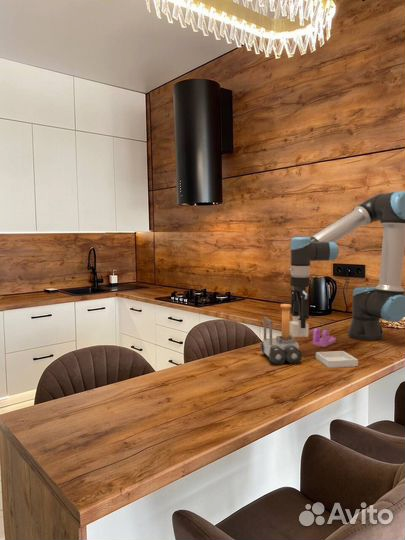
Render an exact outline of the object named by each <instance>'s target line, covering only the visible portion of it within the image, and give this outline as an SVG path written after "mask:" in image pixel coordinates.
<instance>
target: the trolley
mask: <svg viewBox="0 0 405 540" xmlns="http://www.w3.org/2000/svg"><path fill="white" fill-rule="evenodd" d="M267 323H268V324H269V332H268V333H269V336H268V338H267ZM262 339H263V340H262V342H261V344H260V352H262V353H263V354H264V356H267V357H268V359H269V360H270V362H271V363H272V364H274V366H275V365H276V366H280V365H283V364H284V363H285V362H286V361H287V362H288V363H289V364H291V365H296V364H298V363H300V362H301V361H302V359H303V353H302V351H301V350H300V349H299V348H300V347H299V345H300V344H299V343H298V342H297V341H296V337H293V336H291V335H290V339H282V335H276V336H275V338H273V320H272V319H269V318H268V317H267V316H264V317H263V338H262Z"/></svg>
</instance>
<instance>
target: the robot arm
mask: <svg viewBox="0 0 405 540" xmlns="http://www.w3.org/2000/svg"><path fill="white" fill-rule="evenodd" d="M376 222H380V223H379V225H380V226H381V227H382V228H383V231H382V232H383V235H382V245H381V256H380V270H379V278H378V279H379V280H378V284H377V285H376V286H368V287H355V288H354V289H353V291H352V320H351V322H350V325H349V327H348V330H347V336H348V337H349V338H350V339H354V340H358V341H371V342H373V341H374V342H375V341H382V340H383V339H384V330H383V328H382V325H381V320H384V321H385V322H391V323H397V322H400V321H402V320H403V319H404V318H405V289H404V288H403V287H402V278H403V269H404V267H403V266H404V257H405V191H401V190H400V191H394V192H388V193H387V192H386V193H379V194H376V195H373V196H372V197H370V198H368V199H366V200H365V201H363V202H361V203H360V204H359V205H357V206H356V207H354V209H353V211H352V212H350V213H348V214H345V215H344V216H343V217H342V218H340V219H338V220H336V221H335V222H333V223H331V224H330V225H328V226H327V227H325V228H324V229H322V230H320V231H318V232H317V233H315V234H314V235H312V236H311V237H309V236H302V237H301V236H295V237H292V238H291V239H290V240H291V241H290V242H291V243H290V268H289V271H290V275H291V276H290V277H289V278H290V279H289V284H290V287H293V289H291V290H290V295H291V296H290V297H291V298H290V304H291V308H290V314H291V316H292V321H299V332H298V336H306V323H307V320H309V318H310V308H309V307H310V305H309V304H310V303H309V302H310V293H307V289H306V288H308V287H310V284H311V283H310V282H311V278H310V276H311V262H323V261H325V262H326V261H327V262H330V261H335V260H337V258H338V257H339V254H340V253H339V251H340V249H339V246H338V244H337V242H338V241H340V240H342V239H343V238H345V237H346V236H348V235H349V234H352V233H353V232H354V231H357V230H358V229H359V228H361V227H363V226H365V227H366V226H369V225H370V224H372V223H376Z"/></svg>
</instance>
